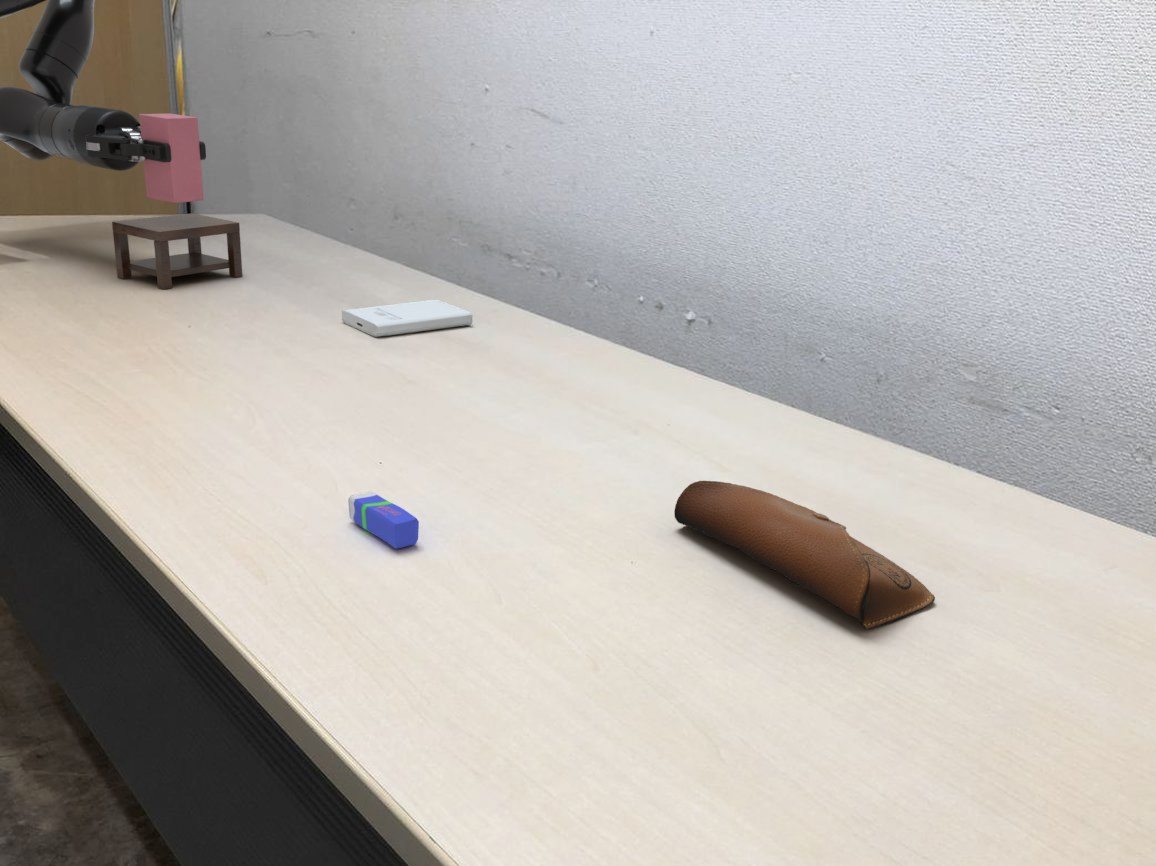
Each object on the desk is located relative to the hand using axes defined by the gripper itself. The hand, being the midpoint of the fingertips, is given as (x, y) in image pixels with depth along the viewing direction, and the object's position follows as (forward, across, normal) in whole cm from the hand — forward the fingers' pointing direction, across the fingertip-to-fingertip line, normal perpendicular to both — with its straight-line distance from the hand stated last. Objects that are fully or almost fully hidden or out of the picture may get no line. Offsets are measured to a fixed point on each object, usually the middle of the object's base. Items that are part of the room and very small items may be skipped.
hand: (185, 152), depth 137 cm
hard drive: (+33, +3, +16) cm, 37 cm away
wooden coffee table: (-3, 0, +16) cm, 16 cm away
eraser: (+71, -42, +15) cm, 84 cm away
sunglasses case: (+96, -28, +15) cm, 101 cm away
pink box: (-3, 0, +6) cm, 7 cm away
